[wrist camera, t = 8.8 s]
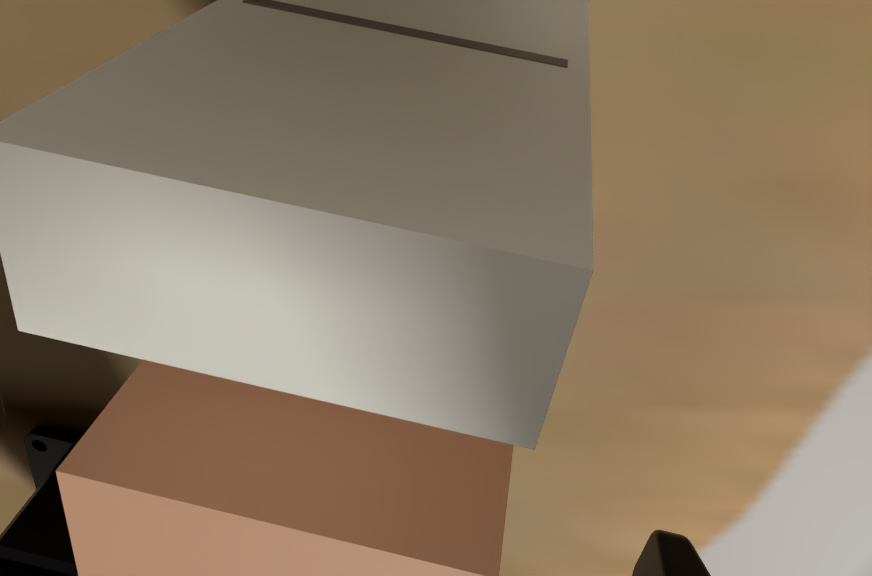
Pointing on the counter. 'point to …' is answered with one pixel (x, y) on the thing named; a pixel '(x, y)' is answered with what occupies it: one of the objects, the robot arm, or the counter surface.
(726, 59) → the counter surface
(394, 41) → the ivory domino
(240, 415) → the terracotta domino
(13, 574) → the robot arm
